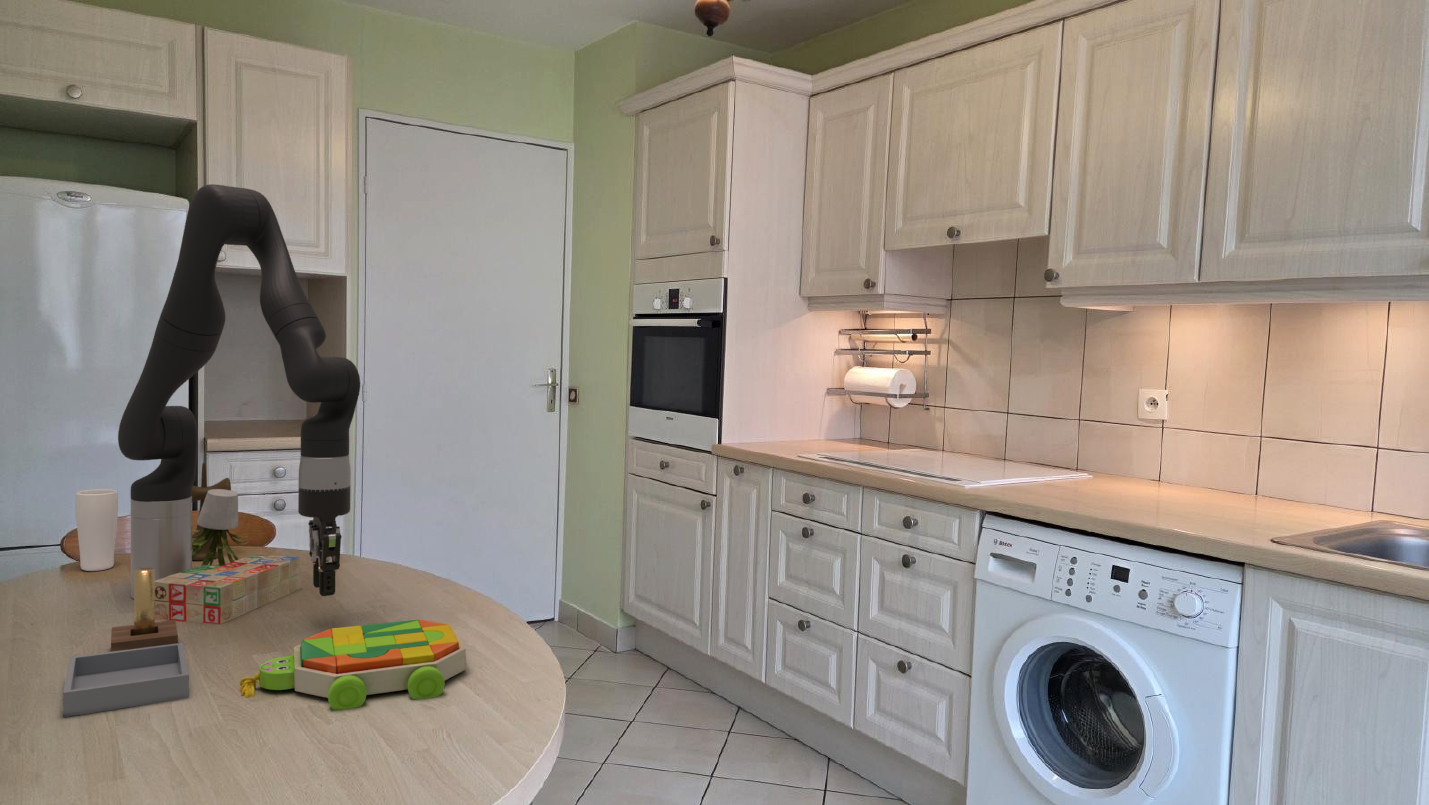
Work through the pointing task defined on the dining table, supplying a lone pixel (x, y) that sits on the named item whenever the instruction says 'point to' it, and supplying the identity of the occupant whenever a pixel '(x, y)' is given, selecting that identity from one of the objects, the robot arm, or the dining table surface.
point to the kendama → (200, 494)
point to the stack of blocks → (225, 589)
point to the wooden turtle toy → (367, 663)
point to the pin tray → (125, 679)
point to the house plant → (217, 525)
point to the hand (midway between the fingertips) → (323, 590)
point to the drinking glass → (96, 527)
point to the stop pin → (144, 601)
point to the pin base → (143, 636)
